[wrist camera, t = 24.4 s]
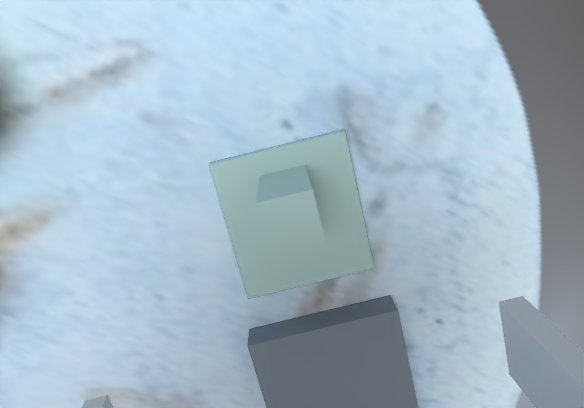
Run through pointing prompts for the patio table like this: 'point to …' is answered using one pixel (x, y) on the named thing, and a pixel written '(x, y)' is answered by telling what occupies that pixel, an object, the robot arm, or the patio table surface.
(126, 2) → the patio table surface
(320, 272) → the cover
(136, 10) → the patio table surface
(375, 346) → the plate
